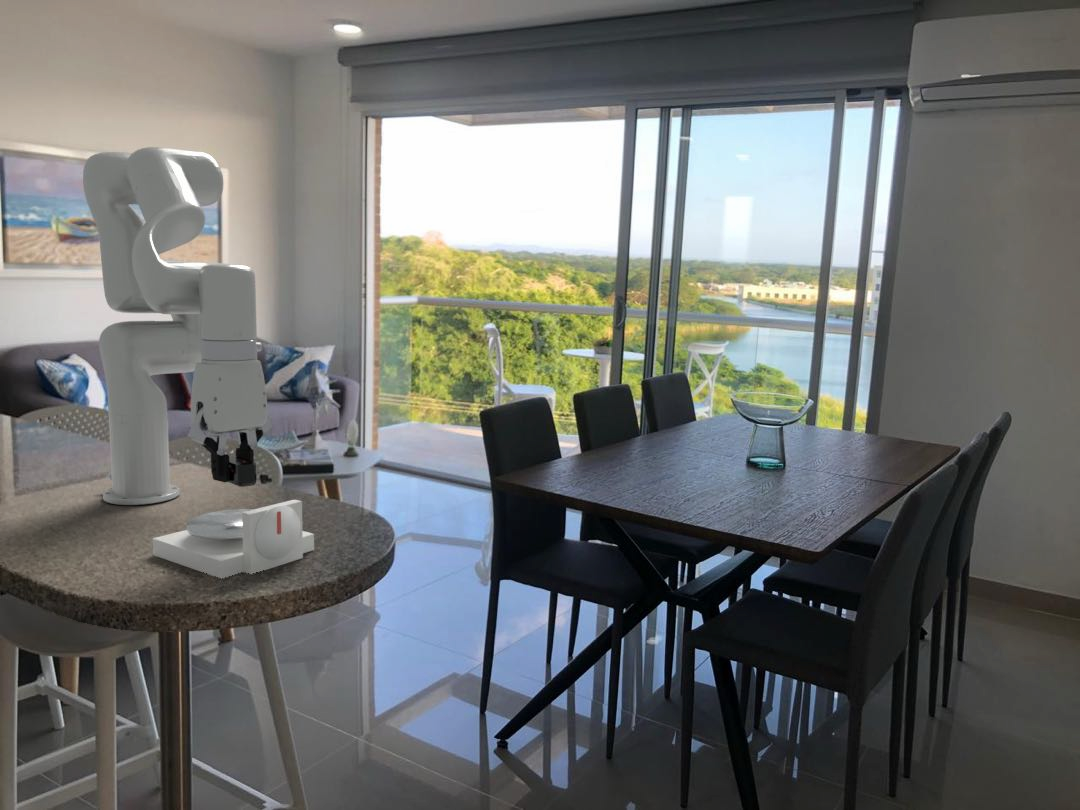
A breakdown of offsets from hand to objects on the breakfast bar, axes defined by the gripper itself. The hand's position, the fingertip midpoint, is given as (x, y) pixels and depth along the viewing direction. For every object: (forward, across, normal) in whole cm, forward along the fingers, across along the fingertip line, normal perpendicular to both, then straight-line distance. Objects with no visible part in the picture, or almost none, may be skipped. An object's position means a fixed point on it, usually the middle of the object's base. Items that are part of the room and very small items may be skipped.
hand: (233, 477), depth 127 cm
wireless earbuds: (+1, 0, +2) cm, 3 cm away
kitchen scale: (+11, 0, +1) cm, 11 cm away
